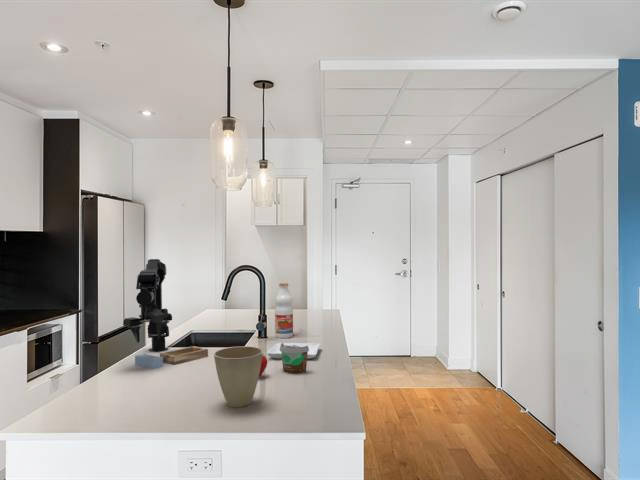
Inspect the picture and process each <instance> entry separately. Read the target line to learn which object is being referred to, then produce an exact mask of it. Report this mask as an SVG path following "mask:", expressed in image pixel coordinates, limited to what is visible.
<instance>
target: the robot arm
mask: <svg viewBox="0 0 640 480" xmlns="http://www.w3.org/2000/svg"><path fill="white" fill-rule="evenodd" d="M166 275H167V265H166V264H165V263H164V262H162V261H161V259H159V258H151V259H148V260H147V263H146V265H145V269H142V270H141V271H140V272H139V273H138V274H137V277H136V280H137V281H136V288H135V289H136V290H140V291H139V292H138V293H137V295H136V297H135V298H136V302H137V304H138V306H139V307H138V308H139V309H140V314H139V315H138V317H127V318H126V317H125V318H124V319H123V324H122V325H123V326H125V327H126V328H129V330H130V331H131V333H132V334H133V338H134V339H135V341H136V343H137V344H138V343H140V329H141V327H142V325H141V324H142V323H148V325H147V338H148V339H150V338H151V348H148V351H152V352H155V353H156V352H157V353H158V352H161V351H166V350H169V348H168V347H166V338H167V337H170V328H169V326H168V324H169V323H170V322H171V321H173V315H172V313H170V312H169V311H168V309H167V308H163V290H162V289H163V288H162V287H163V286H162V284H163V282H164V281H165V279H166Z"/></svg>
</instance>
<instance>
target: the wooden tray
mask: <svg viewBox="0 0 640 480" xmlns="http://www.w3.org/2000/svg"><path fill="white" fill-rule="evenodd" d="M159 357H163V363H166V364H169V365H173V366H175V365H179V364H182V363H183V364H184V363H187V362H192V361H196V360H199V359H204V358H208V357H209V349H208V348H204V347H200V346H195V345H193V346H188V347H184V348H179V349H175V350H174V349H173V350H169V351H165V352H161V353H159Z"/></svg>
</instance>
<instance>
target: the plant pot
mask: <svg viewBox="0 0 640 480" xmlns="http://www.w3.org/2000/svg"><path fill="white" fill-rule="evenodd" d="M263 352H264V351H263V349H261V348H259V347H257V346H249V345H247V346H246V345H245V346H230V347H226V348H220V349H218V350H215V351H214V353H213V358H214V362H215V363H214V364H215V370H216V374H217V377H218V382H219V386H220V389H221V392H222V393H223V394H222V395H223V396H224V399H225V402H226V404H227V405H228V406H229V407H231V408H242V407H243V408H244V407H247V406H249V405H250V404H252V401H253V399H254V395H255V393H256V389H257V385H258V383H259V378H260V377H259V373H260V368H261V361H262V354H263Z"/></svg>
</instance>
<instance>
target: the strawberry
mask: <svg viewBox="0 0 640 480" xmlns="http://www.w3.org/2000/svg"><path fill="white" fill-rule="evenodd" d="M267 366H268V359H267V356H266V355H265V354H263V353H262V361H261V368H260V373H259V378H260V377H262V374H263V373H264V372H265V370H266V368H267Z"/></svg>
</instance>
